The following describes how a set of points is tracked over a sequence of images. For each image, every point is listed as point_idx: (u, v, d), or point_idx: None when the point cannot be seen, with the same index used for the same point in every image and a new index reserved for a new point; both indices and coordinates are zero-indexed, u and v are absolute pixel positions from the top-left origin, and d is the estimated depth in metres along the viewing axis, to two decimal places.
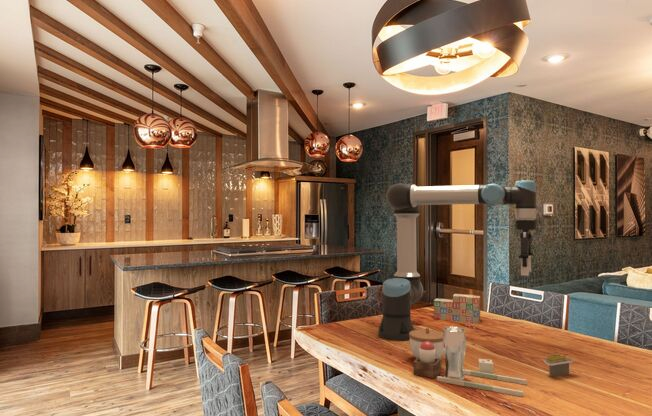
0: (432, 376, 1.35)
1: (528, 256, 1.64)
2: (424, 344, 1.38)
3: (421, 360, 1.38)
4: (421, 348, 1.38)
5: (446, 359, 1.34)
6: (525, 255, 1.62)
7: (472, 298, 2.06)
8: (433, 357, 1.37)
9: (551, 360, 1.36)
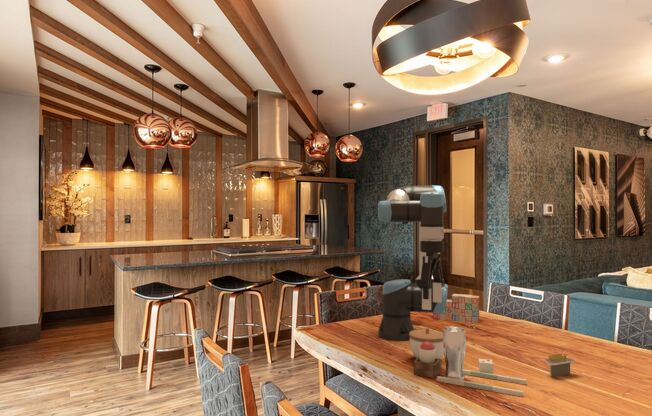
0: (432, 376, 1.35)
1: (430, 286, 1.33)
2: (424, 344, 1.38)
3: (421, 360, 1.38)
4: (421, 348, 1.38)
5: (446, 359, 1.34)
6: (425, 285, 1.32)
7: (471, 298, 2.06)
8: (433, 357, 1.37)
9: (552, 360, 1.36)
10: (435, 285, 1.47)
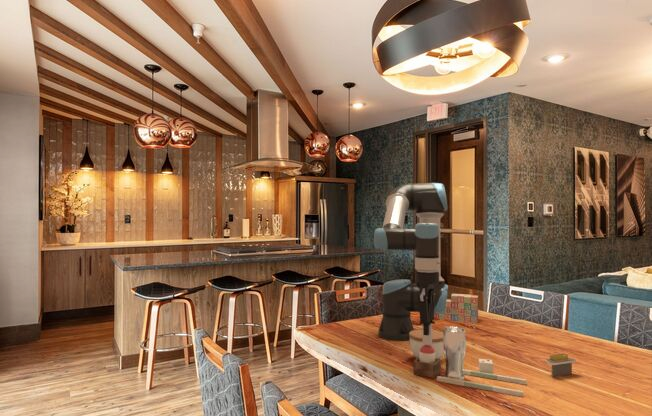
0: (432, 376, 1.35)
1: (430, 323, 1.38)
2: (424, 347, 1.38)
3: None
4: (421, 351, 1.38)
5: (446, 359, 1.34)
6: (425, 322, 1.36)
7: (470, 298, 2.07)
8: (433, 360, 1.37)
9: (553, 360, 1.36)
10: None
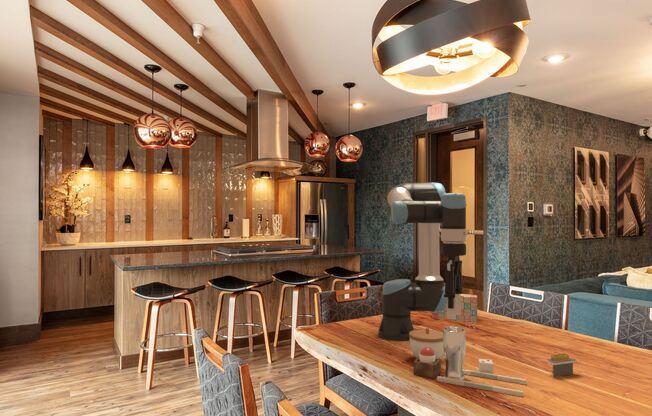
0: (432, 376, 1.35)
1: (455, 295, 1.31)
2: (424, 350, 1.38)
3: None
4: (421, 354, 1.38)
5: (446, 359, 1.34)
6: (450, 294, 1.30)
7: (470, 297, 2.07)
8: (433, 363, 1.37)
9: (554, 360, 1.37)
10: None
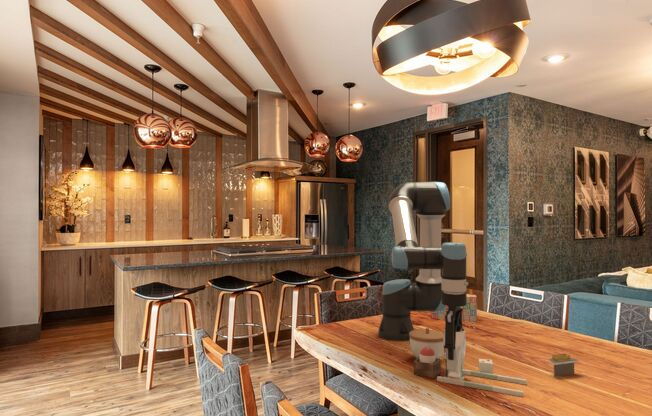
0: (432, 376, 1.35)
1: None
2: (424, 350, 1.38)
3: None
4: (421, 354, 1.38)
5: (446, 359, 1.34)
6: (450, 346, 1.29)
7: (469, 297, 2.08)
8: (433, 363, 1.37)
9: (555, 359, 1.37)
10: None
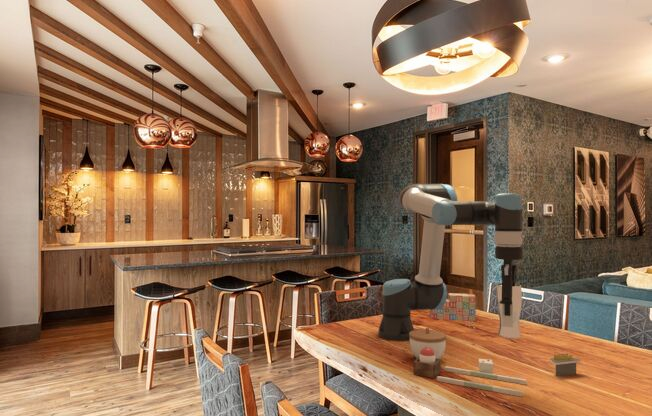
0: (432, 376, 1.35)
1: None
2: (424, 350, 1.38)
3: None
4: (421, 354, 1.38)
5: (501, 316, 1.27)
6: (508, 301, 1.22)
7: (468, 297, 2.09)
8: (433, 363, 1.37)
9: (557, 359, 1.37)
10: None
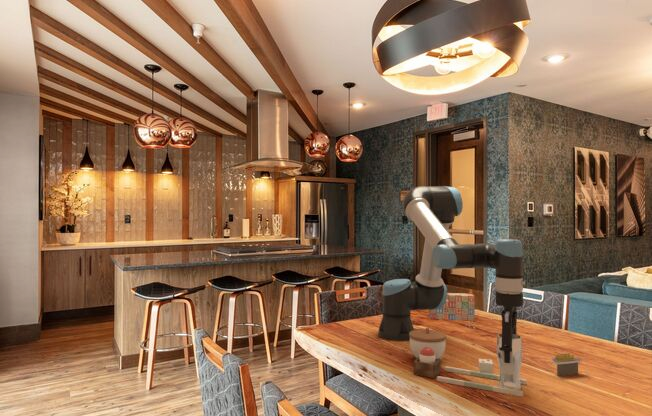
0: (432, 376, 1.35)
1: None
2: (424, 350, 1.38)
3: None
4: (421, 354, 1.38)
5: (501, 368, 1.27)
6: (507, 349, 1.20)
7: (468, 296, 2.10)
8: (433, 363, 1.37)
9: (558, 359, 1.37)
10: None
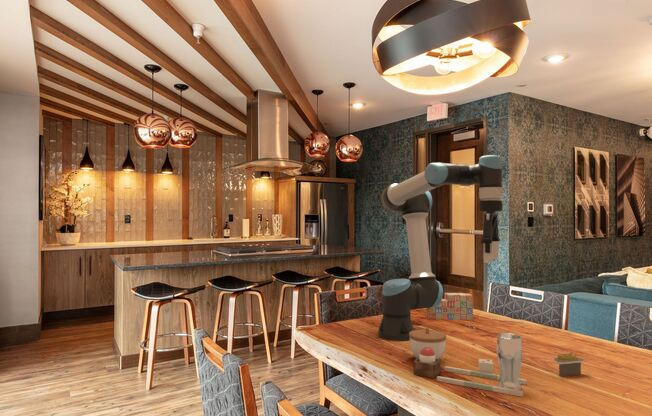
0: (432, 376, 1.35)
1: (491, 241, 1.44)
2: (424, 350, 1.38)
3: None
4: (421, 354, 1.38)
5: (501, 368, 1.27)
6: (488, 239, 1.42)
7: (466, 296, 2.12)
8: (433, 363, 1.37)
9: (561, 359, 1.37)
10: (492, 243, 1.57)
